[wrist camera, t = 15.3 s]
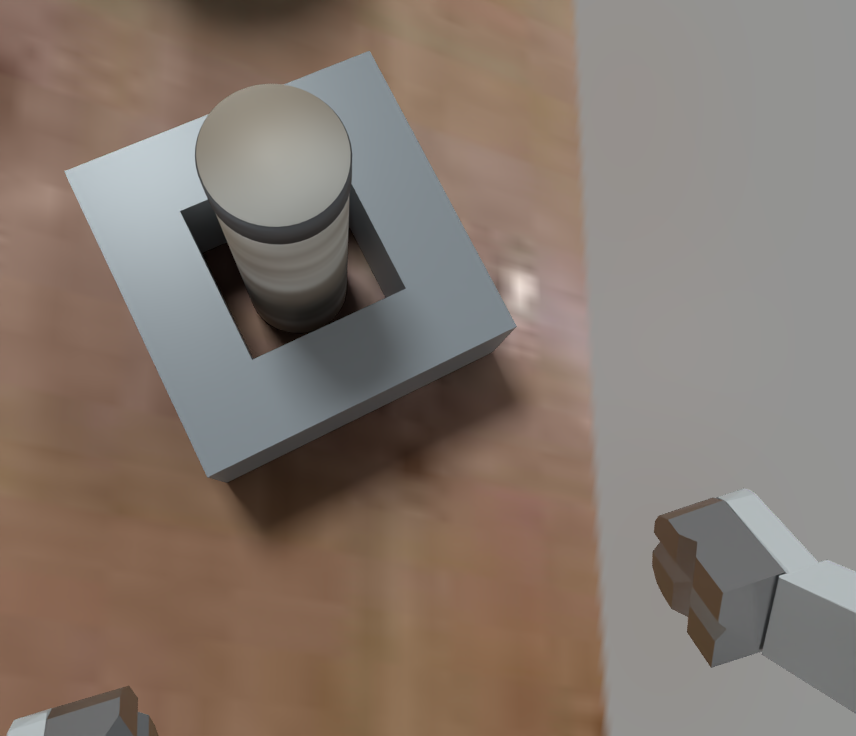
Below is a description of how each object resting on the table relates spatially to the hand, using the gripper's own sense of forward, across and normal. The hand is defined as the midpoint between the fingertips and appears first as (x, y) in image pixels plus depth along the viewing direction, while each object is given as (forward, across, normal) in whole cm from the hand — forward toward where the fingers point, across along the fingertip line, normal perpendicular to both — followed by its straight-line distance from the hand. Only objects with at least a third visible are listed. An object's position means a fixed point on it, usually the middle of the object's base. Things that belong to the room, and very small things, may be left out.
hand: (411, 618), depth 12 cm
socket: (+21, 0, +6) cm, 22 cm away
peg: (+22, 0, +6) cm, 22 cm away
